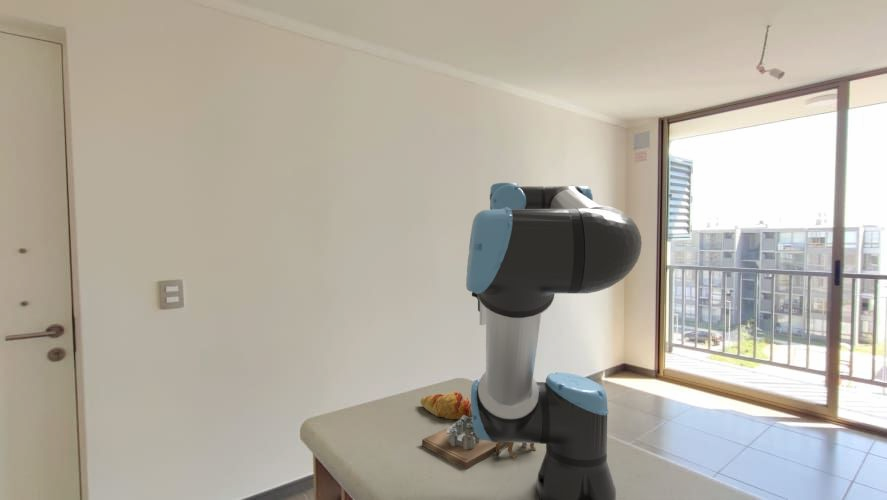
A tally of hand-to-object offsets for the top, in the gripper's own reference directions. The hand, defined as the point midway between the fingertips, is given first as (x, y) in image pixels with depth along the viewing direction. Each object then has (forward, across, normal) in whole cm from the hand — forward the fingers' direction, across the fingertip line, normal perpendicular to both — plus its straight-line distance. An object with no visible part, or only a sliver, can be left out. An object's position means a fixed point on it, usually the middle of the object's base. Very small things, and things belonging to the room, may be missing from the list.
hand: (504, 328), depth 105 cm
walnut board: (+29, +5, +8) cm, 30 cm away
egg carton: (+27, +5, +9) cm, 29 cm away
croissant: (+29, +21, -2) cm, 36 cm away
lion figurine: (+29, -6, +1) cm, 30 cm away
